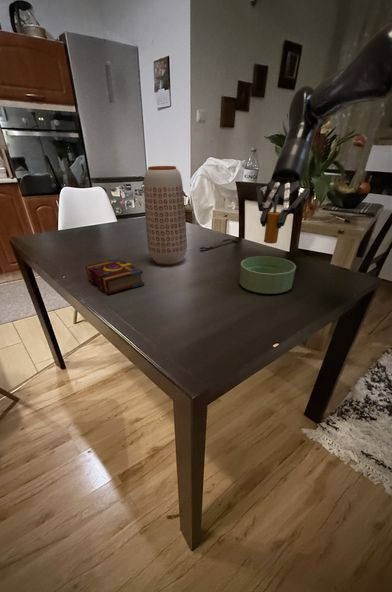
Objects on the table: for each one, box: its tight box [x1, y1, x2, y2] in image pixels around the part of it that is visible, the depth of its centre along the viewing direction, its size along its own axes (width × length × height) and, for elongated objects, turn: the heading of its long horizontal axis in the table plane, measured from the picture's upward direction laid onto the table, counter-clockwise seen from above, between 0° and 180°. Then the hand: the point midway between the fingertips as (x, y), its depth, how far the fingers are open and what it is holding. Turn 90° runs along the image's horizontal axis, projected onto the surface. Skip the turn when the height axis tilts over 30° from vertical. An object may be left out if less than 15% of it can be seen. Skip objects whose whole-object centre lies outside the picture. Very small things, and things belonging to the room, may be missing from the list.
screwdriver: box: [263, 195, 281, 245], centre depth 71 cm, size 3×3×11 cm
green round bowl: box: [238, 255, 297, 295], centre depth 80 cm, size 15×15×6 cm
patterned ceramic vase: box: [143, 165, 188, 267], centre depth 91 cm, size 13×13×28 cm
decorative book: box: [85, 257, 145, 295], centre depth 83 cm, size 11×16×5 cm
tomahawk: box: [199, 238, 239, 250], centre depth 115 cm, size 21×7×1 cm, turn 132°
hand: (270, 225), depth 71 cm, fingers closed on screwdriver, 3 cm apart
